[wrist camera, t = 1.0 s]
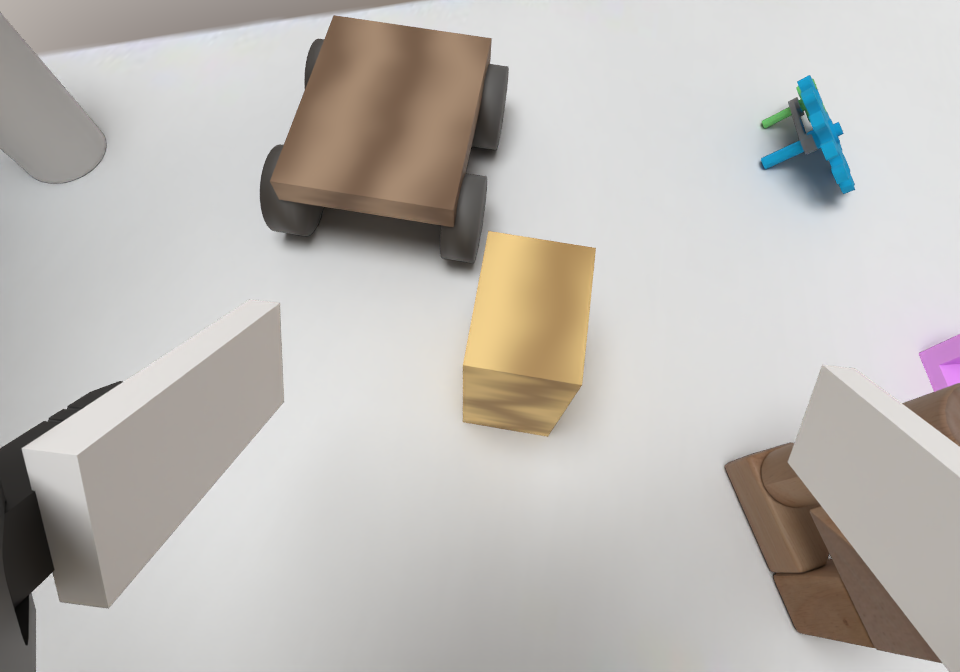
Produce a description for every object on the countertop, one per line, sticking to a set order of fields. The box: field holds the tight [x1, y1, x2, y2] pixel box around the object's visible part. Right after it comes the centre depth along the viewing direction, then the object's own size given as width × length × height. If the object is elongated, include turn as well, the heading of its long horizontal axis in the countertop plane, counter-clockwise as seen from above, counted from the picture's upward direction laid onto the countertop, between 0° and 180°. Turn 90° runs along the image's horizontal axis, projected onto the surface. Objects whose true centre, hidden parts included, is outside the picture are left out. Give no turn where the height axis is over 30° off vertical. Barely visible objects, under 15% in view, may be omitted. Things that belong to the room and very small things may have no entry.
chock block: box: [463, 231, 596, 437], centre depth 35 cm, size 6×8×12 cm
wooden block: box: [725, 383, 960, 663], centre depth 28 cm, size 4×11×18 cm, turn 15°
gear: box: [761, 75, 855, 194], centre depth 46 cm, size 11×6×10 cm
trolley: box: [260, 16, 509, 263], centre depth 43 cm, size 15×17×8 cm
